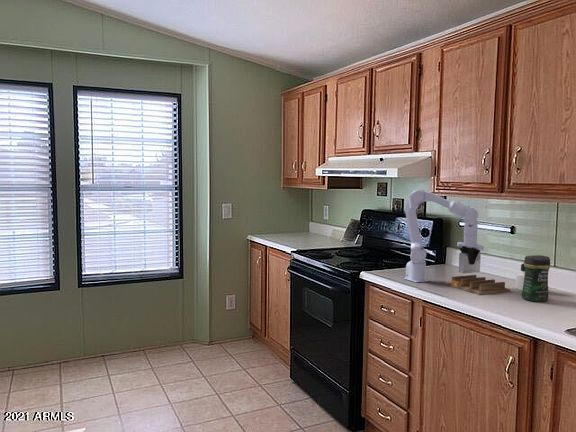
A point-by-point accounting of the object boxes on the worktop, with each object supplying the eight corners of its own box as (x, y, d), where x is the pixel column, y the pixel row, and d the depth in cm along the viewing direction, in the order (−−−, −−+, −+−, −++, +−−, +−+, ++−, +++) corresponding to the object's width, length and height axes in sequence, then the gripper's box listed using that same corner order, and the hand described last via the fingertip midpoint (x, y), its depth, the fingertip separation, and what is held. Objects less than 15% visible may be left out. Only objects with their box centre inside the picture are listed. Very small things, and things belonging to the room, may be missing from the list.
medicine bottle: (526, 292, 214) (527, 265, 213) (514, 288, 220) (516, 262, 219) (539, 291, 215) (541, 264, 214) (528, 287, 222) (529, 262, 221)
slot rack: (446, 285, 226) (446, 276, 226) (476, 282, 233) (476, 274, 233) (479, 294, 208) (479, 285, 208) (509, 291, 215) (510, 282, 215)
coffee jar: (531, 302, 195) (534, 257, 194) (518, 298, 203) (520, 254, 202) (552, 301, 198) (554, 256, 196) (538, 297, 205) (540, 253, 204)
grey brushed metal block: (458, 272, 225) (459, 253, 224) (475, 270, 229) (475, 252, 228) (463, 273, 222) (464, 254, 221) (479, 272, 226) (480, 252, 225)
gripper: (489, 236, 219) (487, 265, 220) (465, 232, 232) (464, 260, 233) (477, 236, 216) (476, 266, 217) (454, 233, 229) (453, 261, 230)
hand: (469, 263), depth 225 cm, fingers closed on grey brushed metal block, 3 cm apart
